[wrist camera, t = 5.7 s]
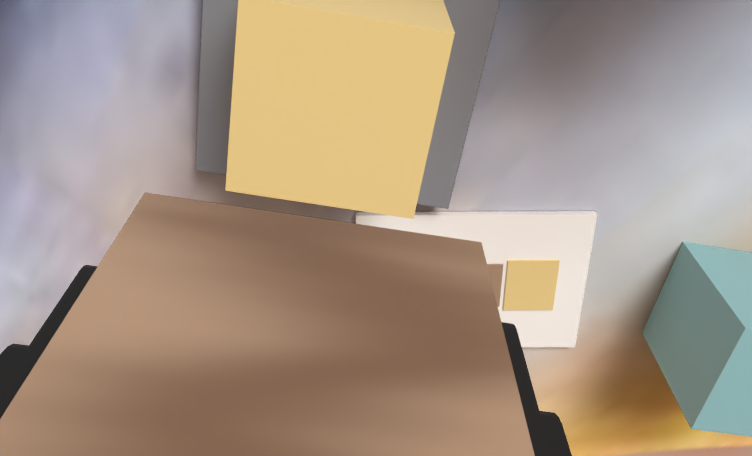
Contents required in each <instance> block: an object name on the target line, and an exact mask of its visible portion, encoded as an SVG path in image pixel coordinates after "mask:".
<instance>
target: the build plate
mask: <svg viewBox="0 0 752 456" xmlns="http://www.w3.org/2000/svg"><path fill="white" fill-rule="evenodd" d="M499 2H500V0H203V8H202V30H201V53H200V76H199V99H198V122H197V144H196V167H195V170H197V171H204V172H210V173H217V174H223V175H226V188H225V191H231V192H238V193H244V194H251V195H258V196H264V197H271V198H278V199H284V200H291V201H297V202H304V203H311V204H317V205H324V206H331V207H337V208H344V209H350V210H357V211H364V212H370V213H377V214H384V215H390V216H397V217H404V218H410V219H414V214H415V210H416V205H417V204H420V205H427V206H433V207H440V208H446V209H448V207H449V203H450V199H451V195H452V191H453V187H454V183H455V179H456V175H457V171H458V167H459V163H460V159H461V155H462V151H463V147H464V143H465V139H466V135H467V131H468V127H469V123H470V119H471V115H472V111H473V107H474V103H475V99H476V95H477V91H478V87H479V83H480V79H481V75H482V71H483V67H484V63H485V59H486V55H487V51H488V47H489V43H490V39H491V35H492V31H493V27H494V23H495V19H496V15H497V10H498V6H499Z"/></svg>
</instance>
